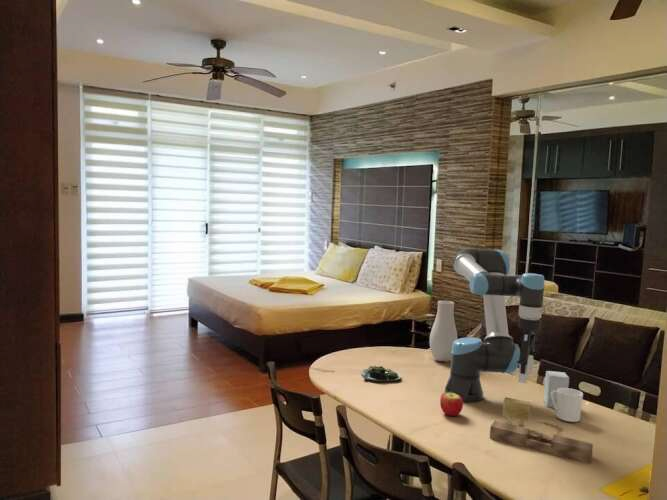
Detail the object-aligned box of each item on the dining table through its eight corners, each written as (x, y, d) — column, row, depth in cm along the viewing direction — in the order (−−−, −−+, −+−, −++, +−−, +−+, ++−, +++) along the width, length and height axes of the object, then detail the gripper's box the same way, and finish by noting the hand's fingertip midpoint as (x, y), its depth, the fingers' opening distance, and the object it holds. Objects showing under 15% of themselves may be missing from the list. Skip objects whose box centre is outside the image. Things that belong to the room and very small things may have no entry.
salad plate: (353, 370, 239) (354, 360, 239) (390, 369, 243) (391, 360, 243) (365, 384, 220) (366, 373, 220) (405, 383, 224) (405, 373, 224)
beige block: (502, 424, 184) (503, 399, 183) (503, 421, 186) (505, 397, 186) (526, 430, 180) (528, 404, 179) (528, 427, 182) (530, 402, 181)
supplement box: (567, 409, 202) (569, 377, 201) (546, 407, 203) (549, 375, 202) (562, 402, 209) (565, 372, 208) (543, 400, 210) (545, 370, 209)
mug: (579, 416, 195) (581, 389, 194) (582, 425, 186) (584, 397, 186) (547, 411, 198) (550, 385, 198) (549, 420, 190) (551, 392, 189)
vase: (428, 362, 257) (432, 302, 254) (428, 355, 270) (431, 298, 268) (457, 365, 254) (461, 305, 252) (455, 358, 268) (459, 300, 266)
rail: (489, 437, 172) (490, 426, 171) (494, 431, 177) (494, 420, 177) (590, 463, 157) (591, 451, 156) (591, 456, 162) (592, 443, 162)
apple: (447, 408, 196) (448, 382, 196) (467, 415, 190) (468, 388, 190) (434, 413, 191) (436, 387, 190) (454, 421, 185) (456, 393, 184)
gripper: (536, 325, 168) (531, 389, 170) (545, 314, 190) (540, 370, 192) (512, 322, 172) (507, 384, 173) (523, 311, 194) (519, 366, 195)
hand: (525, 377), depth 183 cm, fingers open, 13 cm apart
